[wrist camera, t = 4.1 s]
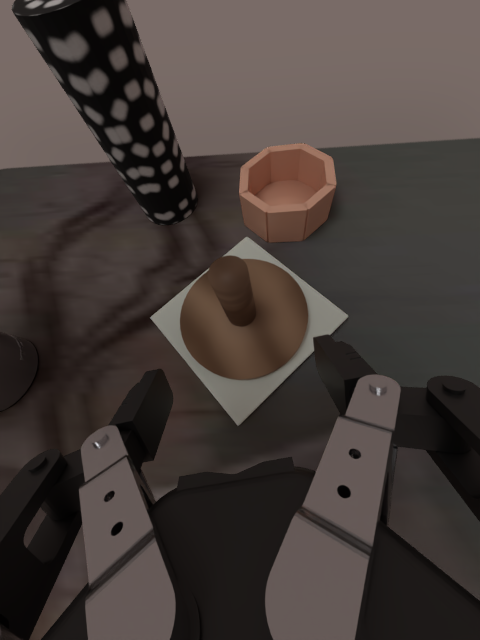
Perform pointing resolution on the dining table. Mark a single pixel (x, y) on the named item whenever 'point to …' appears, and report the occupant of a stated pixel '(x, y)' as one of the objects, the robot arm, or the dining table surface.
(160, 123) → the spotted tube
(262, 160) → the terracotta bowl
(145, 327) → the dining table surface
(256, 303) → the walnut lid
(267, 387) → the rubber mat
